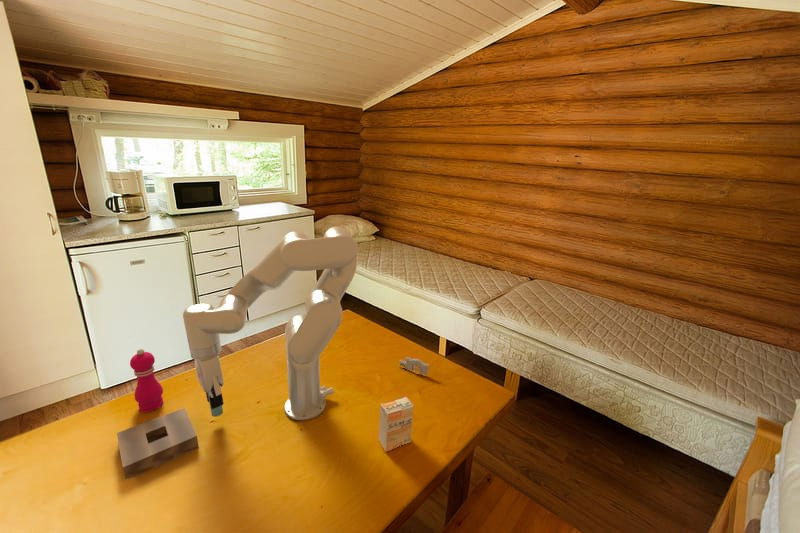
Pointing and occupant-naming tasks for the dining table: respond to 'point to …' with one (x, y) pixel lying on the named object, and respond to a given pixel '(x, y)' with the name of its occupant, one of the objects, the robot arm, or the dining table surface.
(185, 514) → the dining table surface
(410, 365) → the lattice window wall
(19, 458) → the dining table surface
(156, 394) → the pepper mill
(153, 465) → the walnut hole block
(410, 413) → the supplement box
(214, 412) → the teal peg
